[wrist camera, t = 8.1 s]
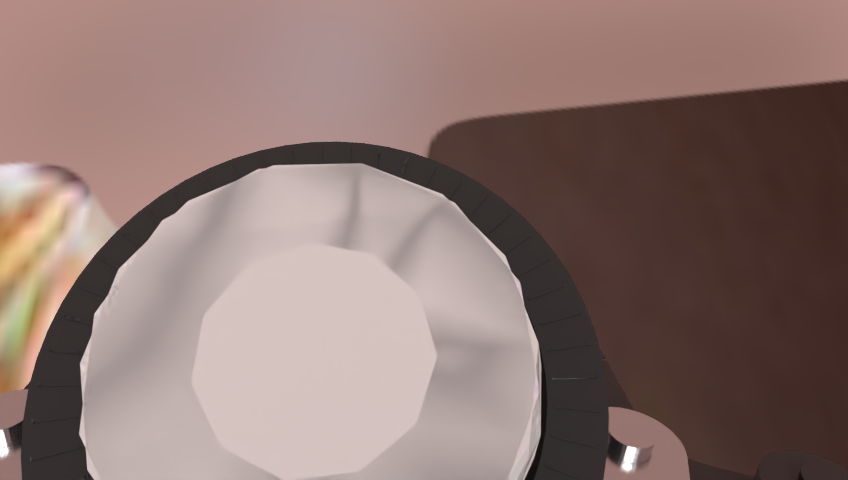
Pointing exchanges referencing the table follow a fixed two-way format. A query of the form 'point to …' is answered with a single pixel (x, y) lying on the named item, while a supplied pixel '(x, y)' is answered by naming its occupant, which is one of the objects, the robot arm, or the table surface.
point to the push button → (321, 334)
